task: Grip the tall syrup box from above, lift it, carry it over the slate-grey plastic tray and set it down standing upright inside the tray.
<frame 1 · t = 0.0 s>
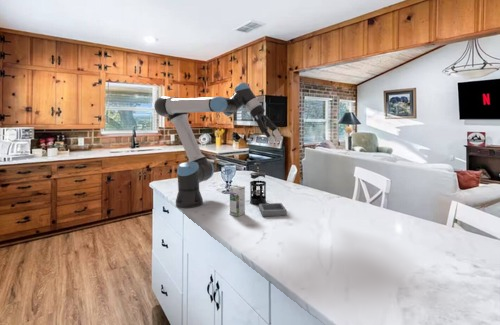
hand: (277, 141, 152), 36 cm above the worktop, tool tilted 35°, fingers open, 13 cm apart
syrup box: (237, 214, 145), on the worktop
french press: (257, 202, 165), on the worktop
tray: (272, 212, 147), on the worktop
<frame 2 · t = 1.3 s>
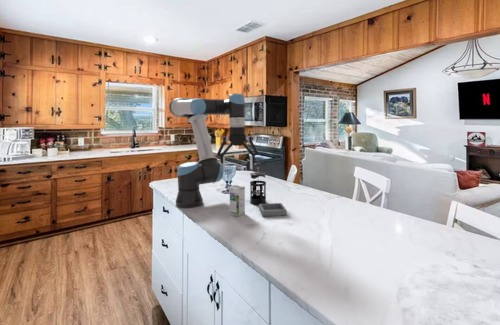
hand: (237, 169, 142), 23 cm above the worktop, tool pointing down, fingers open, 13 cm apart
nothing on the worktop moved.
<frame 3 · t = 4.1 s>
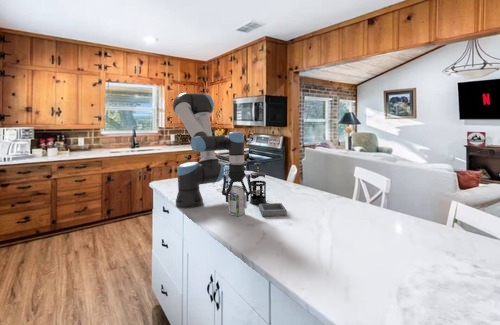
hand: (237, 207, 145), 3 cm above the worktop, tool pointing down, fingers closed on syrup box, 8 cm apart
syrup box: (237, 214, 145), on the worktop, touching gripper
everything else where it was.
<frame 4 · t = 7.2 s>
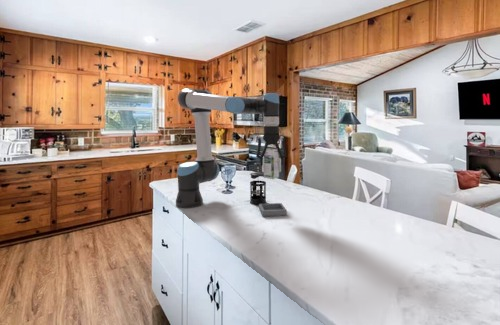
hand: (271, 171, 143), 22 cm above the worktop, tool pointing down, fingers closed on syrup box, 8 cm apart
syrup box: (271, 178, 144), point 18 cm above the worktop, touching gripper
everything else where it was.
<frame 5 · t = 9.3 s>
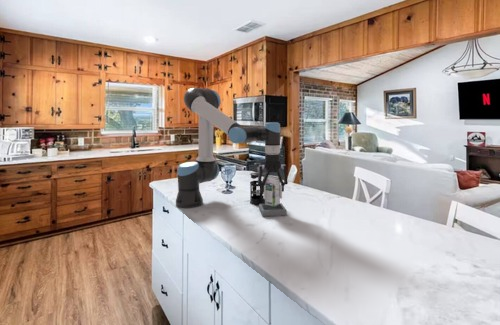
hand: (272, 198, 146), 8 cm above the worktop, tool pointing down, fingers closed on syrup box, 8 cm apart
syrup box: (272, 204, 146), point 4 cm above the worktop, touching gripper
everything else where it was.
when the fingers open (5 cm above the worktop, at t = 10.6 s): syrup box drops 1 cm, resting on tray.
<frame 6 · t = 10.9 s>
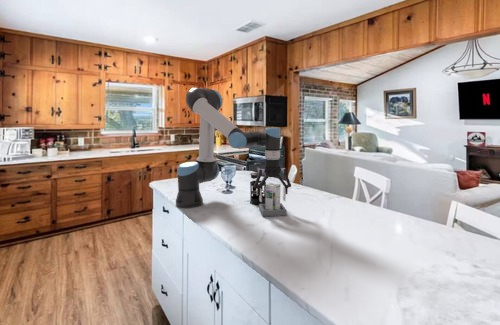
hand: (272, 200, 146), 6 cm above the worktop, tool pointing down, fingers open, 11 cm apart
syrup box: (272, 211, 147), resting on tray
everything else where it was.
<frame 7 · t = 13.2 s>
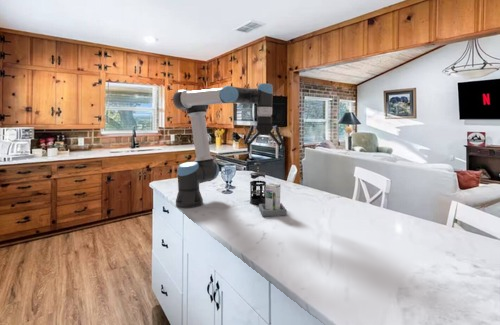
hand: (263, 158, 146), 28 cm above the worktop, tool pointing down, fingers open, 13 cm apart
nothing on the worktop moved.
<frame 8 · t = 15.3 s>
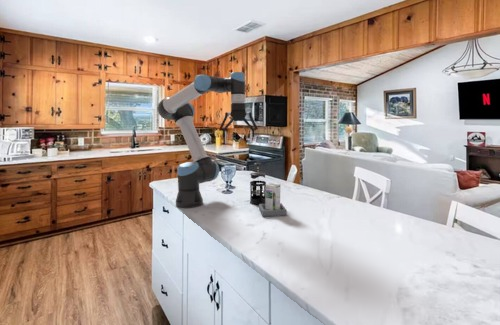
hand: (238, 143, 153), 35 cm above the worktop, tool pointing down, fingers open, 13 cm apart
nothing on the worktop moved.
at the end: syrup box 0.2 cm off-centre on the tray, point 0.3 cm above the tray's base; syrup box tilted 0°; the gripper is holding nothing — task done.
